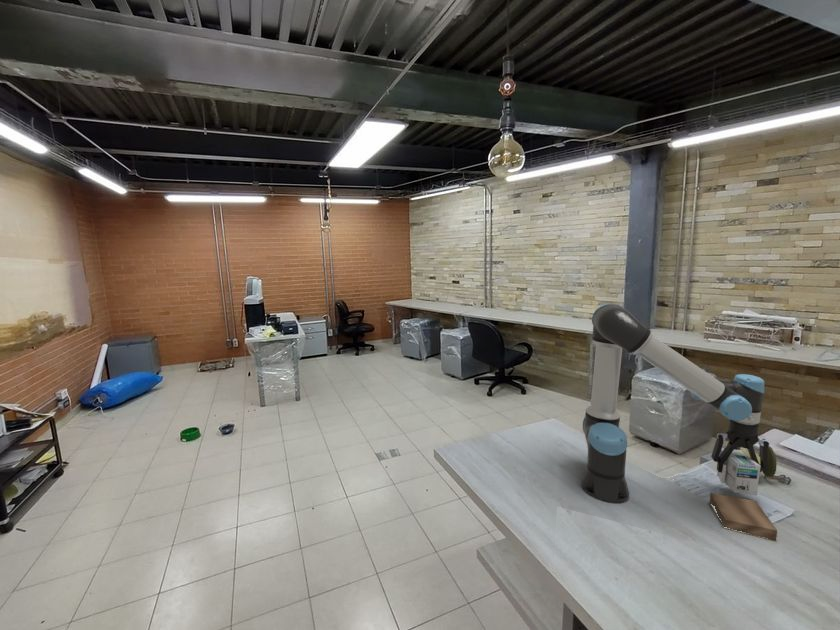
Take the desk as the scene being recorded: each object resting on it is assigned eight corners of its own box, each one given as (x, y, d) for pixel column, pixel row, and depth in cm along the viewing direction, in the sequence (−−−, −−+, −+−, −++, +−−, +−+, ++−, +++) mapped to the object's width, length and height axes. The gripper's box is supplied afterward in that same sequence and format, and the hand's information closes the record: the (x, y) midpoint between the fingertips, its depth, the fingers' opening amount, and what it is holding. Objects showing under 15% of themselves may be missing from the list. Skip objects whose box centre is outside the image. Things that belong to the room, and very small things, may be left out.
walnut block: (723, 534, 111) (725, 519, 110) (709, 506, 124) (710, 492, 123) (775, 546, 106) (777, 530, 106) (754, 515, 119) (756, 501, 118)
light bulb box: (757, 496, 122) (762, 465, 120) (734, 493, 123) (738, 463, 121) (737, 477, 132) (741, 449, 130) (715, 475, 133) (719, 447, 132)
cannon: (713, 447, 161) (715, 422, 160) (747, 452, 157) (750, 426, 155) (737, 478, 138) (740, 450, 137) (778, 485, 134) (781, 455, 132)
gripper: (710, 420, 125) (703, 482, 128) (789, 430, 117) (779, 497, 120) (704, 411, 131) (697, 471, 135) (778, 421, 123) (768, 484, 127)
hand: (736, 483), depth 127 cm, fingers closed on light bulb box, 7 cm apart
